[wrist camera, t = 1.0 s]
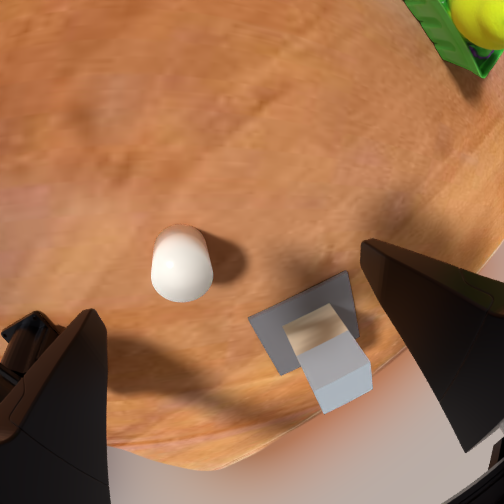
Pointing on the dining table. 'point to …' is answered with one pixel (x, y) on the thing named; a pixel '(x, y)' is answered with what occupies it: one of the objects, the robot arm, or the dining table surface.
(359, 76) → the dining table surface
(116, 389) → the dining table surface
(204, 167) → the dining table surface
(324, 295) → the mat
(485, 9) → the fruit basket
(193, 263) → the white cylinder
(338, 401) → the top block
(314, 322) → the bottom block
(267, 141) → the dining table surface
